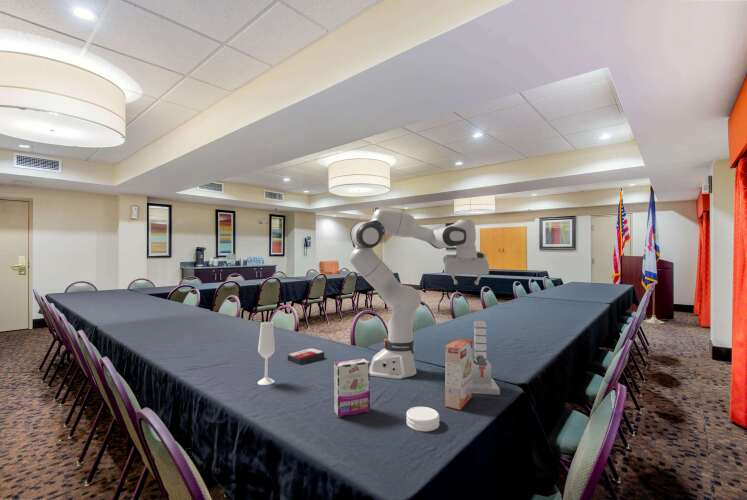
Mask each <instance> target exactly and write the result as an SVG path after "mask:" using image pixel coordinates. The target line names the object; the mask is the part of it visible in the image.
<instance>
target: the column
mask: <svg viewBox="0 0 747 500" xmlns="http://www.w3.org/2000/svg"><path fill="white" fill-rule="evenodd" d="M479 358H485V359H486V360H488V359H487V322H486V321H485V320H473V360H474V364H479Z"/></svg>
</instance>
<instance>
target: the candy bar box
mask: <svg viewBox="0 0 747 500" xmlns="http://www.w3.org/2000/svg"><path fill="white" fill-rule="evenodd" d="M370 365H371V363H370V361H369V360H367V359H366V358H359V359H349V360H343V361H335V362H333V400H334V401H333V402H334V403H333V405H334V406H333V411H334V412H333V413H334V414H335V415H336V416H337V418H344V417H345V418H346V417H350V416H351V417H352V416H355V415H360V414H365V413H369V412H371V399H370V398H371V396H370V395H371V389H370V387H371V386H370V383H371V382H370V381H371V378H370V370H369V369H370Z"/></svg>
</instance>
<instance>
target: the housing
mask: <svg viewBox="0 0 747 500" xmlns="http://www.w3.org/2000/svg"><path fill="white" fill-rule="evenodd" d="M472 394H476V395H478V394H479V395H496V396H497V395H498V396H500V395H501V389H500V387H499V386H498V384H497V383H496V381H495V380H494V378H492V364H491V363H490V362H489V360H488V359H487V360H486V359H485V358H479V364H474V359H472Z"/></svg>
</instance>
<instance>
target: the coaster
mask: <svg viewBox="0 0 747 500" xmlns="http://www.w3.org/2000/svg"><path fill="white" fill-rule="evenodd" d="M405 416H406V420H405V421H406V425H407V426H408V427H409V428H410V429H412V430H414V431H417V432H432V431H435V430H437V429H438V428H439V427H440V413H439V412H438V411H437V410H435V409H434V408H431V407H429V406H428V407H427V406H413V407H410V408H409V409H408V410H407V411H406V414H405Z"/></svg>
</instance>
